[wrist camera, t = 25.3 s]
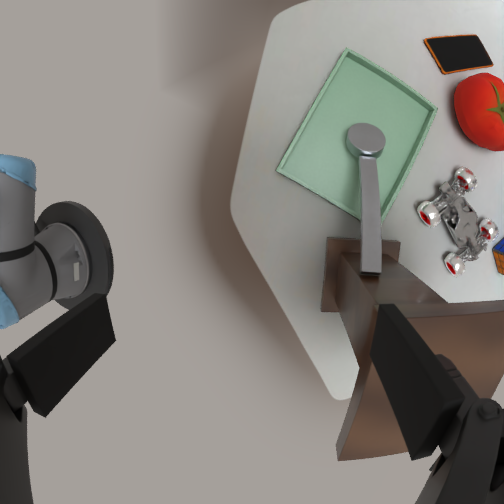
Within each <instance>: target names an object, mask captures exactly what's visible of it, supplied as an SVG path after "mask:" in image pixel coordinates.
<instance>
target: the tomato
mask: <svg viewBox="0 0 504 504" xmlns="http://www.w3.org/2000/svg"><path fill="white" fill-rule="evenodd" d="M454 107H455V112H456V116H457V119H458V122H459V125H460V127H461V129H462V130H463V132H464V133H465V135H466V136H467V137H468V138H469V139H470V140H471V141H472V142H473V143H475V144H477V145H478V146H480V147H484V148H487V149H489V150H492V151H504V83H503V82H502V80H501V79H500V78H498V77H496V76H493V75H491V74H489V73H479V74H476V75H473V76H470V77H468V78H466V79H465V80H463V81H462V82H460V83H459V84H458V86H457V87H456V91H455V94H454Z"/></svg>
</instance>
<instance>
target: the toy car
mask: <svg viewBox="0 0 504 504" xmlns="http://www.w3.org/2000/svg"><path fill="white" fill-rule="evenodd" d="M454 177H455V181H454V182H453V183H452V184H451V186H450V185H449V184H448V183H447V182H444V183H443V184H442V185H441V186H440V187H439V190H440V193H441V195H440V196H439V197H437V198H436V199H435V200H433V201H432V202H429V201H428V200H427V201H424V202H422V204H420V205H419V207H418V209H417V210H418V211H417V212H418V213H419V216H420V218H421V219H422V220H423V222H424V223H425V224H426V225H427V226H428V227H430V228H433V227H434V226H435V227H436V225H438V224H439V222H440V221H441V216H440V215H441V214H443V219H444V221H445V223H446V225H447V227H448V229H449V231H450V233H451V235H452V237H453V239H454V241H455V243H456V245H457V247H459V248H463V247H467V249H466V250H464V251H463V252H462V253H461V254H459V255H457V254H456V253H455V252H454V253H453V252H452V253H451V254H450V253H449V255H447V256H446V258H445V259H444V262H445V265H446V267H447V268H448V270H449V271H450V273H451V274H452V275H454V276H455V277H459V276H460V275H462V273H463V272H464V271H465V265H464V263H465V261H467V260H468V261H473V260H477V259H478V254H480V252H481V251H482V250H483V249H484V251H486V247H487V243H485V241H486V240H487V241H488V242H491V241H492V242H493V241H494V240H495V239H496V237H498V234H499V233H498V229H497V227H496V224H495V223H494V222H493V221H492V220H490V219H489V218H488V219H487V218H486V219H484V220H482V222H481V223H480V225H479V228H478V224H477V220H478V216H477V214H476V212H475V211H474V210H473V208H472V207H471V206H470V205H469V204H468V202H467V201H466V199H465V198H464V197H460V196H461V195H464V194H465V193H464V192H465V191H466V193H467V192H468V193H469V192H471V191H472V190H474V189H475V187H476V186H477V185H476V184H477V182H476V181H477V180H476V178H475V176H474V174H473V173H472V172H471V170H469V169H468V168H466V167H461V168H459V169H458V171H456V174H455V176H454ZM455 182H456V183H455ZM453 185H454V189H453V188H452V187H453ZM456 185H457V186H456ZM456 188H457V189H456ZM460 188H461V190H460ZM440 198H441V200H440V201H438V199H440ZM434 202H435V203H434ZM439 204H440V205H439ZM436 205H437V206H436ZM442 206H443V207H442ZM445 206H446V207H445ZM441 207H442V208H441ZM444 207H445V209H444V210H443V211H442V212H441V213H439V211H440V210H441V209H443V208H444ZM478 229H479V230H480V234H479V236H478V237H477V238H476V235H477V232H478ZM479 237H480V238H479ZM475 238H476V239H475ZM482 240H483V241H482ZM479 241H480V244H479ZM482 244H483V245H482ZM467 250H468V252H469V253H467ZM463 254H464V255H463ZM466 254H467V257H466ZM468 255H469V256H468ZM473 256H474V257H473ZM461 257H462V258H461ZM470 257H472V258H470ZM468 258H469V259H468ZM463 259H464V260H463ZM463 262H464V263H463Z"/></svg>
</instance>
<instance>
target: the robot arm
mask: <svg viewBox="0 0 504 504" xmlns="http://www.w3.org/2000/svg"><path fill="white" fill-rule="evenodd" d="M35 180H36V167H35V164H34V163H33V162H32V161H31V160H30V159H27V158H22V157H17V156H11V155H4V154H0V329H4V328H7V327H8V326H11V325H13V324H15V323H18V322H19V320H21V319H22V318H24V317H25V316H27V315H28V314H30V313H32V312H33V311H35V310H36V309H38V308H40V307H41V306H43V305H45V304H46V303H48V302H50V301H51V300H56V299H62V298H74V297H76V296H78V295H80V294H81V293H83V292H84V291H85V290H86V289H87V287H88V286H89V284H90V281H91V277H92V260H91V255H90V252H89V249H88V246H87V244H86V242H85V240H84V238H83V236H82V235H81V234H80V232H79V231H78V230H77V229H76V228H75V227H73V226H72V225H70V224H68V223H65V222H57V223H53V224H50V225H48V226H47V227H46V228H44V229H43V230H42V231H41V233H40V231H39V229H38V227H37V225H36V223H35V221H34V212H35V210H34V208H35V191H36V186H35ZM34 231H35V233H36V234H37V235H36V236H35V237H34ZM115 341H116V339H115V335H114V331H113V326H112V322H111V318H110V313H109V309H108V303H107V298H106V294H100V293H94V294H92V295H91V296H89V297H88V298H86V299H85V300H83V301H82V302H80V303H79V304H77V305H76V306H75V307H73V308H72V309H70V310H69V311H68V312H66V313H65V314H63V315H62V316H60V317H59V318H58V319H56V320H55V321H53V322H52V323H50V324H49V325H48V326H46V327H45V328H44V329H42V330H41V331H39V332H38V333H37V334H35V335H34V336H33V337H31V338H30V339H29V340H27V341H26V342H25V343H23V344H22V345H21V346H19V347H18V348H17V349H15V350H14V351H13V352H11V353H10V354H9V355H7V357H6V358H5V359H4V360H2V359H1V356H0V504H33V499H32V492H31V485H30V476H29V465H28V452H27V451H28V450H27V409H26V407H25V405H24V404H25V403H26V402H27V401H28V402H29V404H30V405H31V407H32V409H33V411H34V412H36V413H38V414H39V415H41V416H43V417H46V416H47V415H48V414H49V413H50V412H51V411H52V410H53V408H54V407H55V406H56V405H57V404H58V403H59V402H60V401H61V399H62V398H63V397H64V396H65V395H66V394H67V393H68V392H69V391H70V389H71V388H72V387H73V386H74V385H75V384H76V383H77V382H78V381H79V380H80V378H81V377H82V376H83V375H84V374H85V373H86V372H87V371H88V370H89V369H90V368H91V367H92V365H93V364H94V363H95V362H96V361H97V360H98V359H99V358H100V357H101V356H102V354H104V353H105V352H106V351H107V350H108V348H109V347H110V346H111V345H112V344H113V343H114V342H115ZM369 355H370V358H371V360H372V362H373V364H374V367H375V369H376V371H377V374H378V376H379V378H380V381H381V383H382V385H383V388H384V390H385V392H386V395H387V397H388V400H389V402H390V405H391V407H392V410H393V412H394V415H395V417H396V420H397V422H398V425H399V427H400V430H401V433H402V435H403V438H404V441H405V443H406V446H407V449H408V452H409V454H410V457H411V460H416V459H420V458H424V457H428V456H431V455H432V453H433V452H434V450H435V449H436V447H437V446H438V445H439V447H440V450H441V452H442V453H441V454H440V456H439V457H438V459H437V460H436V461H435V463H434V464H433V465H432V467H431V468H430V469H429V470H430V471H432V472H431V474H430V476H429V478H428V480H427V482H426V484H425V487H424V488H423V490H422V492H421V494H420V496H419V497H418V499H417V501H416V503H415V504H504V409H502V408H501V406H500V405H499V404H498V403H497V402H496V401H494V400H492V399H489V398H479V397H478V395H477V394H476V393H475V391H474V390H473V388H472V387H471V386H470V384H469V383H468V382H467V380H466V379H465V378H464V376H462V374H461V372H460V371H459V370H457V367H456V366H455V365H454V363H453V362H452V361H451V360H450V359H448V358H447V357H445V356H444V355H442V354H436V355H435V354H434V353H433V352H432V350H431V349H430V348H429V346H428V345H427V344H426V342H425V341H424V340H423V339H422V337H421V336H420V335H419V333H418V332H417V331H416V330H415V328H414V327H413V326H412V325H411V323H410V322H409V321H408V320H407V318H406V317H405V316H404V315H403V314H402V312H401V311H400V310H399V309H398V308H397V306H396V305H395V304H394V303H393V304H379V308H378V314H377V319H376V325H375V330H374V335H373V340H372V344H371V349H370V353H369Z"/></svg>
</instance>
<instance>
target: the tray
mask: <svg viewBox="0 0 504 504" xmlns="http://www.w3.org/2000/svg"><path fill="white" fill-rule="evenodd" d="M437 110H438V108H437V107H436V106H434V105H433V104H432V103H431V102H429V101H428V100H427V99H426V98H424V97H423V96H422V95H420V94H419V93H418V92H416V91H415V90H414V89H412V88H411V87H410V86H408V85H407V84H405V83H404V82H403V81H401V80H400V79H398V78H397V77H395V76H394V75H392V74H391V73H389V72H388V71H386V70H384V69H383V68H381V67H380V66H378V65H376V64H375V63H373V62H372V61H370V60H368V59H366V58H365V57H363V56H361V55H359V54H358V53H356V52H354V51H352V50H350V49H349V48H347V47H346V49H345V50H344V52H343V54H342V55H341V57H340V59H339V61H338V62H337V64H336V66H335V67H334V69H333V71H332V73H331V74H330V76H329V78H328V79H327V81H326V83H325V85H324V86H323V88H322V90H321V92H320V93H319V95H318V97H317V99H316V100H315V102H314V104H313V106H312V107H311V109H310V111H309V113H308V114H307V116H306V118H305V120H304V121H303V123H302V125H301V127H300V128H299V130H298V132H297V134H296V136H295V137H294V139H293V141H292V143H291V144H290V146H289V148H288V150H287V152H286V153H285V155H284V157H283V159H282V161H281V162H280V164H279V166H278V168H277V170H276V171H277V172H278V173H280V174H282V175H284V176H286V177H288V178H289V179H291V180H293V181H295V182H297V183H298V184H300V185H302V186H304V187H305V188H307V189H309V190H311V191H312V192H314V193H316V194H317V195H319V196H321V197H323V198H324V199H326V200H328V201H329V202H331V203H333V204H334V205H336V206H338V207H339V208H341V209H342V210H344V211H346V212H347V213H349V214H350V215H352V216H354V217H355V218H357V219H358V220H360V221H361V210H360V181H359V164H358V160H359V158H358V157H356V156H354V155H353V154H352V153H351V152H350V151H349V149H348V148H347V145H346V140H347V134H348V130H349V128H350V127H351V126H352V125H354V124H357V123H368V124H371V125H374V126H376V127H377V128H379V129H380V130H381V131H382V132H383V134H384V136H385V139H386V144H385V147H384V150H383V153H382V155H381V156H380V157H379V158H377V159H376V161H377V171H378V182H379V195H380V211H381V224H382V222H383V220H384V219H385V217H386V215H387V213H388V212H389V210H390V208H391V206H392V204H393V202H394V201H395V199H396V197H397V195H398V193H399V191H400V189H401V187H402V185H403V183H404V182H405V180H406V178H407V176H408V174H409V172H410V170H411V168H412V166H413V164H414V161H415V159H416V157H417V155H418V153H419V151H420V149H421V147H422V145H423V142H424V140H425V138H426V136H427V133H428V131H429V129H430V127H431V124H432V122H433V120H434V117H435V115H436V112H437Z"/></svg>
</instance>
